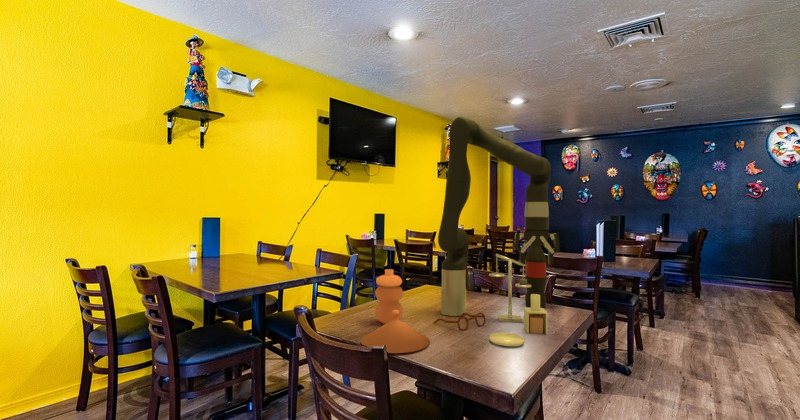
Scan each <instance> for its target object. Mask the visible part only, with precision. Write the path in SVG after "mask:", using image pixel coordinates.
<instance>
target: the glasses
mask: <svg viewBox="0 0 800 420" xmlns="http://www.w3.org/2000/svg"><path fill="white" fill-rule="evenodd" d="M465 315H466V316H465ZM467 316H468V318H467ZM478 318H483V323H482V324H479V322H478ZM462 319H464V320H465V323H466V326H465V328H461V326H460V322H461V320H462ZM471 320H474V321H475V324H476V326H477V327H479V328H480V327H485V324H486V316H485V314H484V313H483V312H477V313H476V315H475V314H474V315H473V314H472V315H471V314H470V313H467V312H465V313H463V314H462V315H461V316H458V319H457V320H445V319H444V318H437V319H436V320H435V321H434V322H433V324H436V323H438V322H440V321H441V322H444V323H446V324H447V323H448V324H456V325H457V328H458V330H459V331H461V332H465V331H467V330H468V328H469V321H471Z"/></svg>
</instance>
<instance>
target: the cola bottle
mask: <svg viewBox="0 0 800 420" xmlns="http://www.w3.org/2000/svg"><path fill="white" fill-rule="evenodd" d="M524 271H525V273H524V279H527V284H530V285H531V287H529V288H526V293H525V297H524V302H525V305H526V306H527V308H531V294H539V295H540V308H543V309H545V307H546V305H547V296H546V293H545V290H546V283H547V257H546V255H545V252H544V250H543V248H542V246H531V245H530V246H529V247H528V251H527V253H526V254H525V266H524Z"/></svg>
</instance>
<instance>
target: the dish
mask: <svg viewBox="0 0 800 420" xmlns="http://www.w3.org/2000/svg"><path fill="white" fill-rule="evenodd" d="M489 341H490V342H491V343H493V344H495V345H498V346H505V347H519V346H522V345H524V343H525V338H524V337H523V336H522V335H520V334H517V333H511V332H501V331H500V332H493V333H491V334H489Z"/></svg>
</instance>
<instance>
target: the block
mask: <svg viewBox="0 0 800 420" xmlns="http://www.w3.org/2000/svg"><path fill="white" fill-rule="evenodd" d="M529 332H530V333H529V334H544V331H543V317H542V316H541V315H529Z"/></svg>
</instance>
